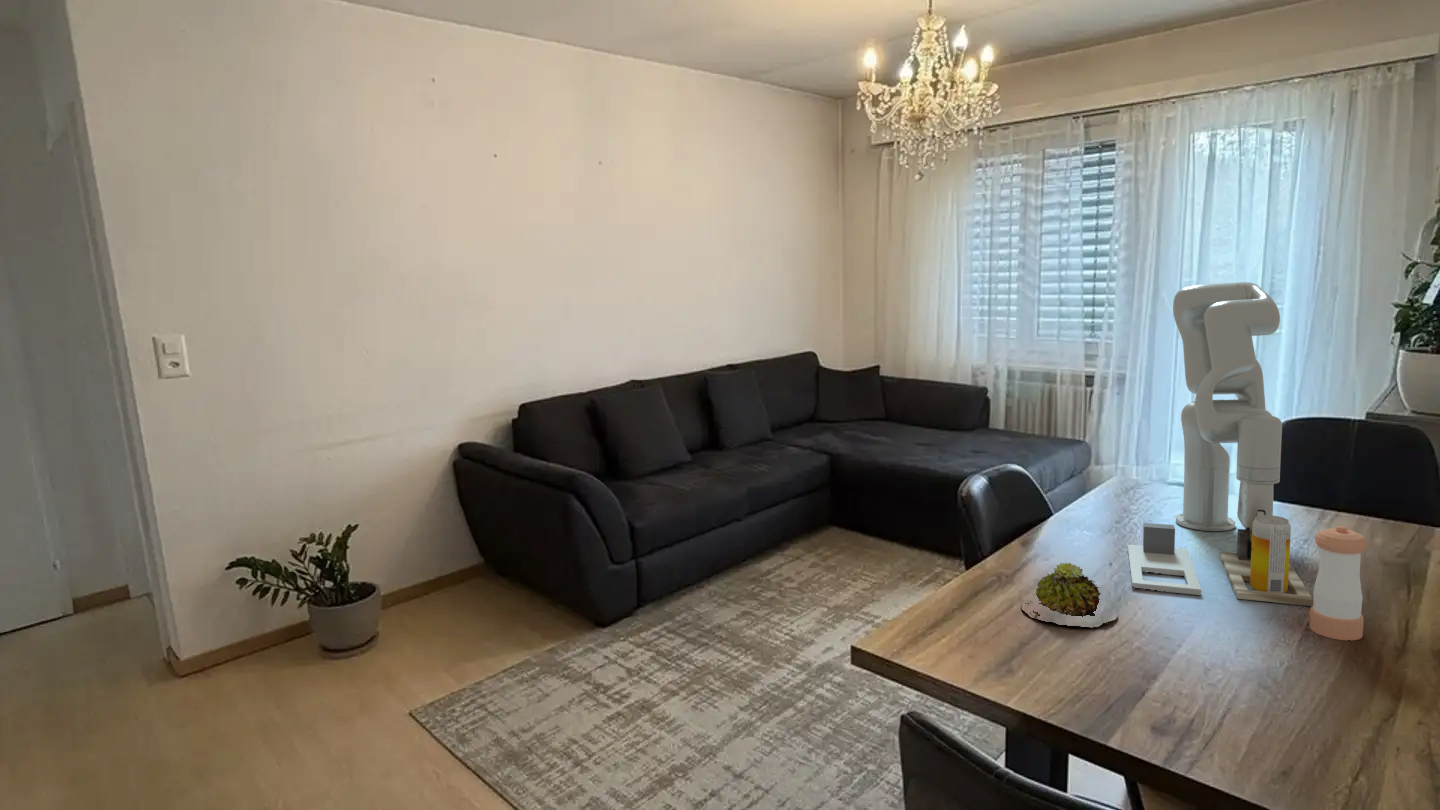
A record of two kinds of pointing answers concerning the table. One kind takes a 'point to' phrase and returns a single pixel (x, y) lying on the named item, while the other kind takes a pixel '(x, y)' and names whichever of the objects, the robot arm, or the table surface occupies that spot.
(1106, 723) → the table surface
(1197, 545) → the table surface
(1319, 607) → the pepper shaker
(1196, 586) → the white board with cutout
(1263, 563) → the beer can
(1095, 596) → the cactus
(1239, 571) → the wooden board with cutout
